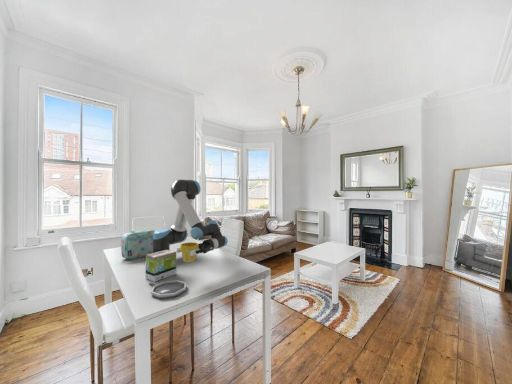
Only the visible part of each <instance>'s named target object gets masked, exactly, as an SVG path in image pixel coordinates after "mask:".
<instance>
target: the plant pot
mask: <svg viewBox="0 0 512 384" xmlns="http://www.w3.org/2000/svg"><path fill="white" fill-rule="evenodd" d="M199 244H200V243H199V242H191V241H190V242H189V241H188V242H184V243H183V242H182V243H180V245H179V248H180V250H181V251H182V252H181V256H182V259H183V261H182V262H185V263H194V262H195V261H196V258H197V254H196V255H192V256H190V251H192V250H195V249H198V248H199Z"/></svg>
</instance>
